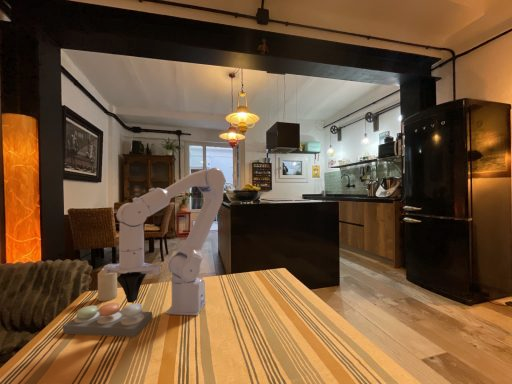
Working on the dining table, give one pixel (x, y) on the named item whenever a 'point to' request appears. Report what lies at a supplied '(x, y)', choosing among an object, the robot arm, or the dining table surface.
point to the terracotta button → (109, 309)
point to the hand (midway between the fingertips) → (132, 300)
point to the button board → (109, 325)
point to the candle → (107, 286)
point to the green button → (86, 312)
